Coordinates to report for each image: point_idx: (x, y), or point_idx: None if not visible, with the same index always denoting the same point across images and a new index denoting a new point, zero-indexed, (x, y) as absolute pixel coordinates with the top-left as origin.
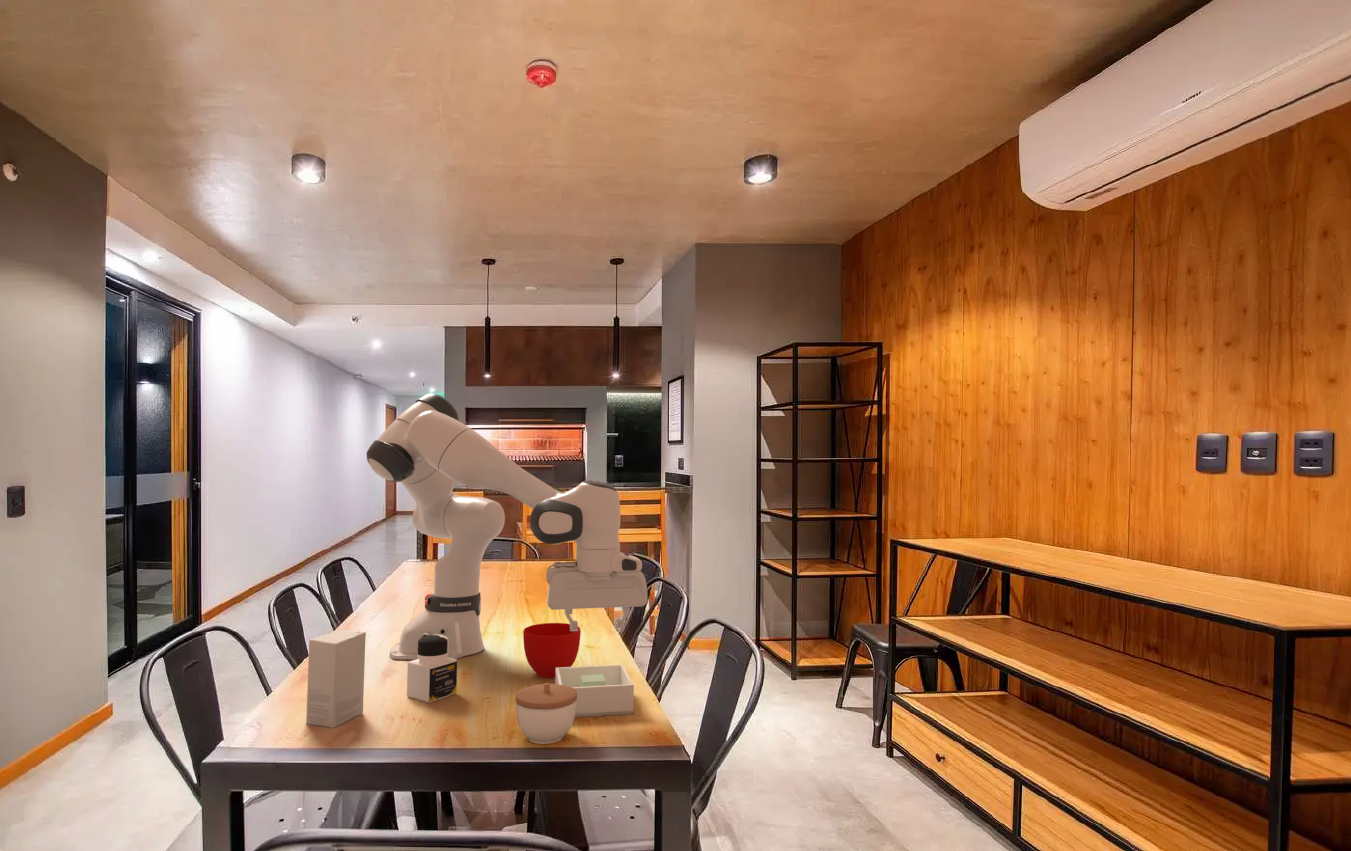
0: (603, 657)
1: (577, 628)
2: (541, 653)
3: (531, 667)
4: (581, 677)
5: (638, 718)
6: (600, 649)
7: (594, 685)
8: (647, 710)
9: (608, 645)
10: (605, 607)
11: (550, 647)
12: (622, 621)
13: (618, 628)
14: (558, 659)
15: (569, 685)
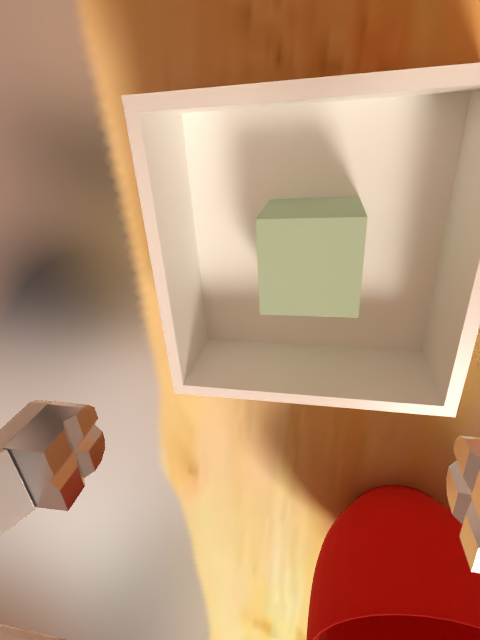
0: (238, 567)
1: (472, 447)
2: None
3: None
4: (360, 287)
5: (154, 40)
6: (241, 607)
7: (309, 213)
8: (123, 136)
9: (222, 619)
10: (50, 637)
11: (446, 568)
12: (3, 440)
13: (77, 404)
14: (399, 519)
15: (382, 360)
